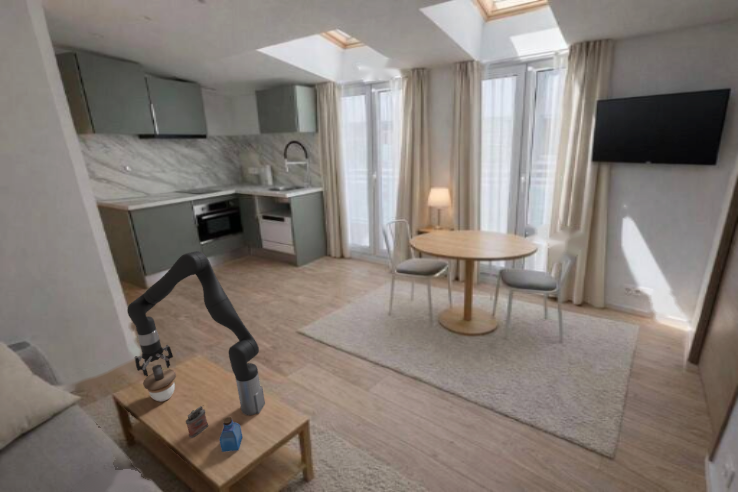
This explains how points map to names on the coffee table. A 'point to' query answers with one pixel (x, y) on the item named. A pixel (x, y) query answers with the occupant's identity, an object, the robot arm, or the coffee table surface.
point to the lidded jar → (162, 392)
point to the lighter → (196, 422)
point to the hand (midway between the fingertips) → (157, 371)
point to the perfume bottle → (230, 435)
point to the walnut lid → (159, 378)
